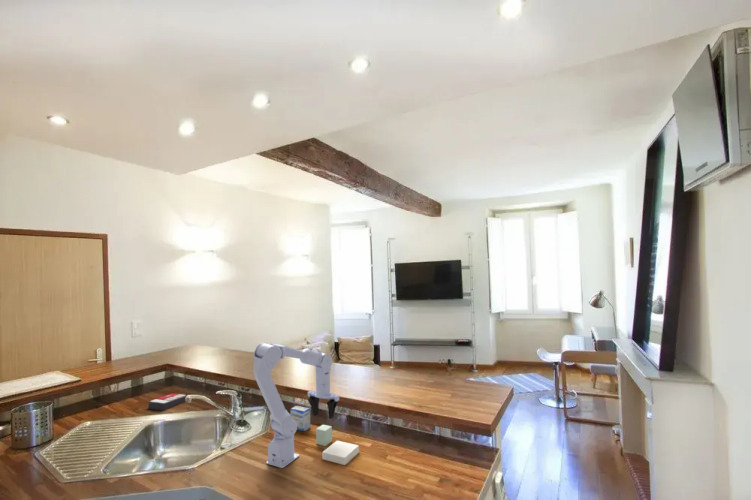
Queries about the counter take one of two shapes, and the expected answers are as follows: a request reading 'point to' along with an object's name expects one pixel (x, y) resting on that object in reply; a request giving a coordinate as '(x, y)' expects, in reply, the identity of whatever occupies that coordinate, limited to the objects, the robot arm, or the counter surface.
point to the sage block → (324, 435)
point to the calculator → (166, 402)
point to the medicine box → (301, 417)
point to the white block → (340, 452)
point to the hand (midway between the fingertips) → (323, 416)
